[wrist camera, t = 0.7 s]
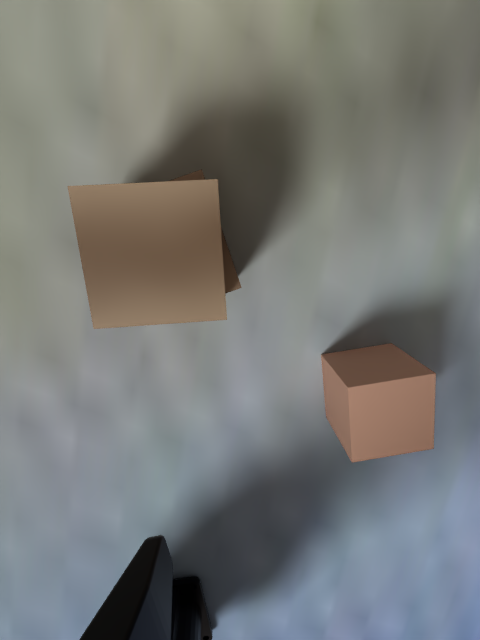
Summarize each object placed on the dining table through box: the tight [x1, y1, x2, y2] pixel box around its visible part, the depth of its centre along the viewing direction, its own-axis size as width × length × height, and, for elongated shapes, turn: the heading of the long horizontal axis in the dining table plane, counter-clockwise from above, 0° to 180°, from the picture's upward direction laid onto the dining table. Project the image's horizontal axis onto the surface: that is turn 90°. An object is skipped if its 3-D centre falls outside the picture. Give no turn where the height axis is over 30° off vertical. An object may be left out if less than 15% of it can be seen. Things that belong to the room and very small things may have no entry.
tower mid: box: [68, 179, 227, 329], centre depth 14 cm, size 5×5×4 cm
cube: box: [321, 343, 436, 462], centre depth 20 cm, size 4×4×4 cm
